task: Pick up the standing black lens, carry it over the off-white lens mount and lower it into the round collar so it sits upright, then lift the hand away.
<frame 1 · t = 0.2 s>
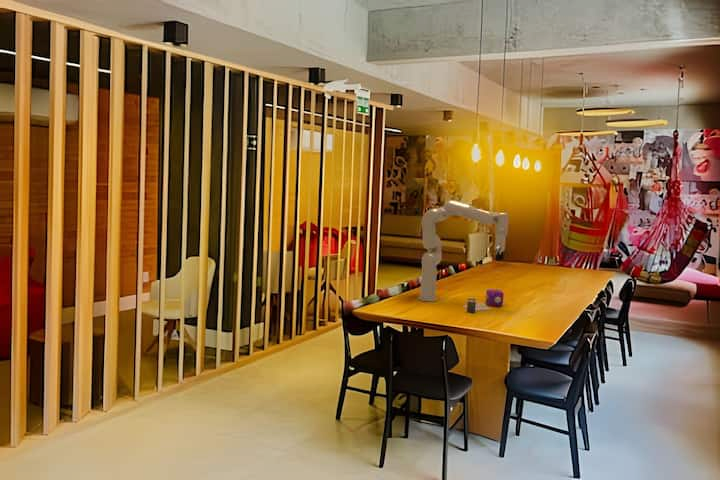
hand: (499, 260, 389), 31 cm above the table, tool pointing down, fingers open, 9 cm apart
lens: (470, 312, 377), on the table
lens mount: (477, 308, 390), on the table
toy camera: (494, 305, 404), on the table
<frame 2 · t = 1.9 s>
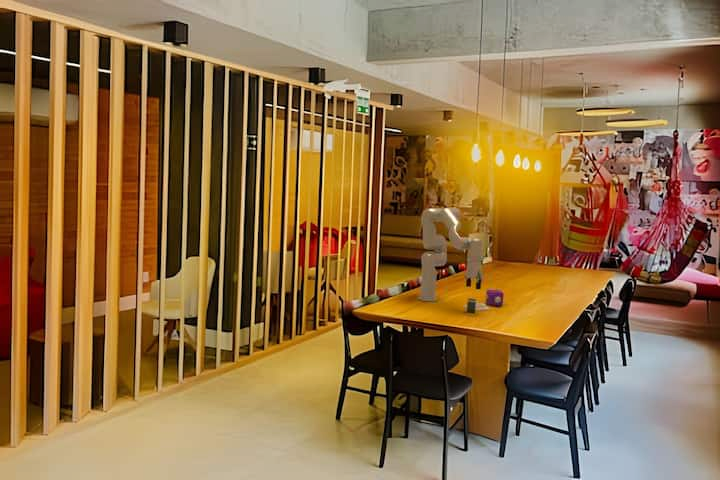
hand: (473, 287, 375), 15 cm above the table, tool pointing down, fingers open, 9 cm apart
nothing on the table moved.
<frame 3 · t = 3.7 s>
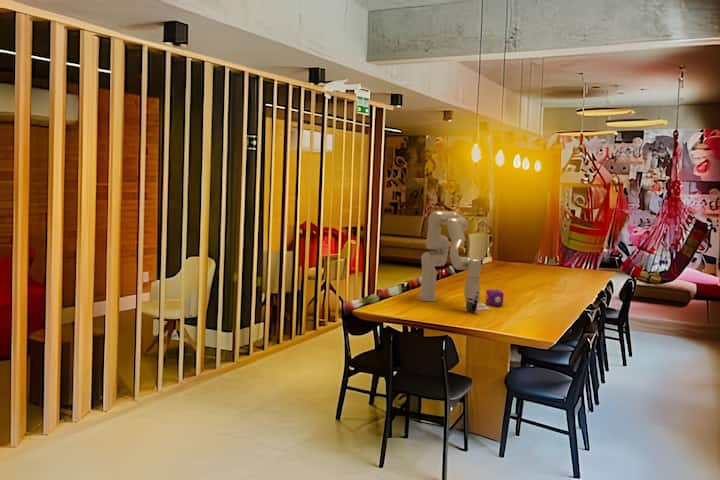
hand: (471, 309, 377), 2 cm above the table, tool pointing down, fingers closed on lens, 5 cm apart
lens: (470, 312, 377), on the table, touching gripper
everything else where it was.
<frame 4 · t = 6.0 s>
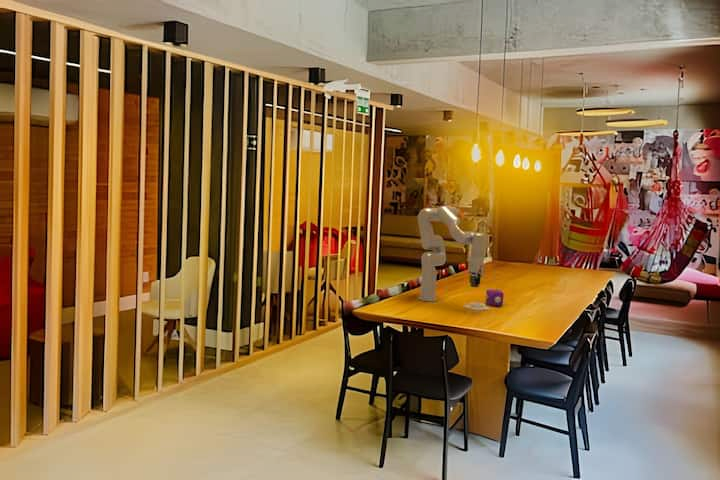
hand: (474, 283, 380), 17 cm above the table, tool pointing down, fingers closed on lens, 5 cm apart
lens: (474, 286, 380), point 15 cm above the table, touching gripper
everything else where it was.
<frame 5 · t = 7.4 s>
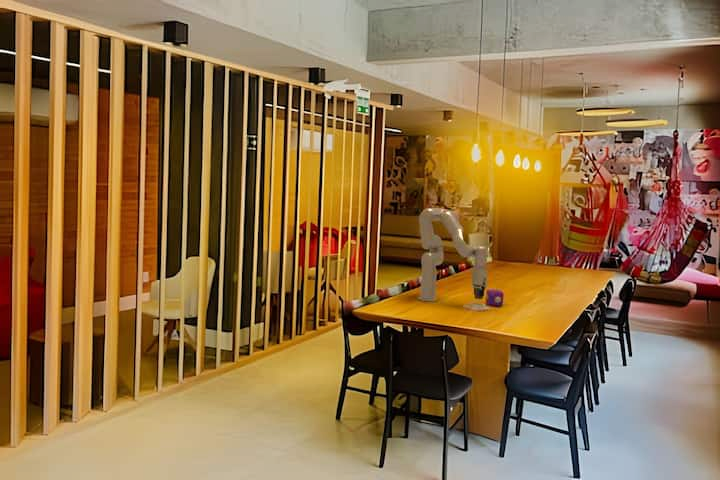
hand: (478, 295, 389), 8 cm above the table, tool pointing down, fingers closed on lens, 5 cm apart
lens: (478, 298, 389), point 7 cm above the table, touching gripper
everything else where it was.
when the fingers open (4 cm above the table, at t = 8.5 s): lens drops 1 cm, resting on lens mount.
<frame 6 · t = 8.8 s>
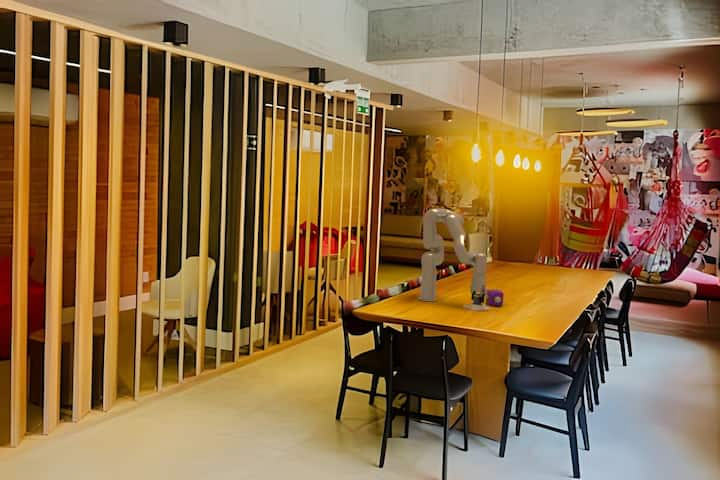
hand: (477, 301, 390), 5 cm above the table, tool pointing down, fingers open, 7 cm apart
lens: (477, 307, 390), point 1 cm above the table, touching lens mount
everything else where it was.
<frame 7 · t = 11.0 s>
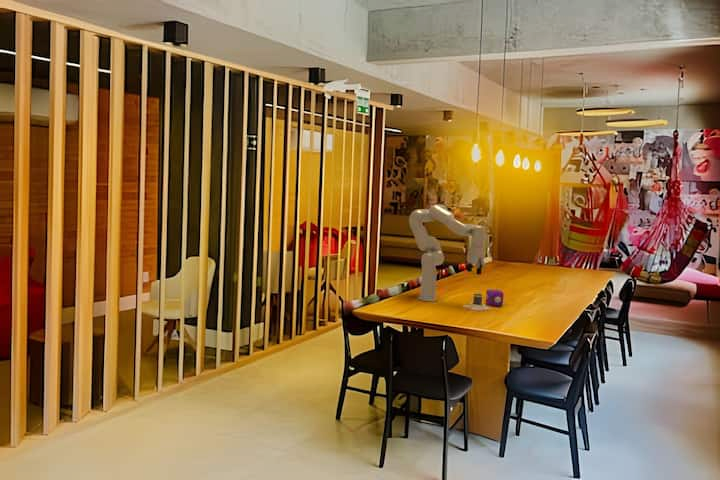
hand: (473, 272, 389), 22 cm above the table, tool pointing down, fingers open, 9 cm apart
nothing on the table moved.
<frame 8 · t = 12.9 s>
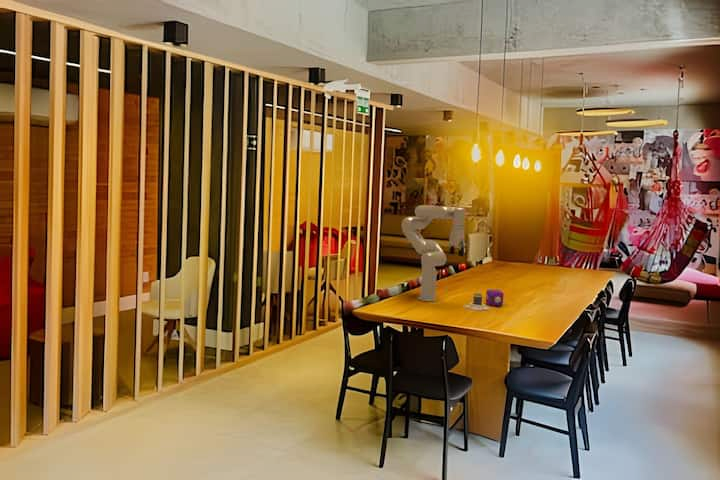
hand: (456, 255, 390), 32 cm above the table, tool pointing down, fingers open, 9 cm apart
nothing on the table moved.
at the end: lens 0.0 cm off-centre on the lens mount, point 1.0 cm above the lens mount's base; lens tilted 0°; the gripper is holding nothing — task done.
